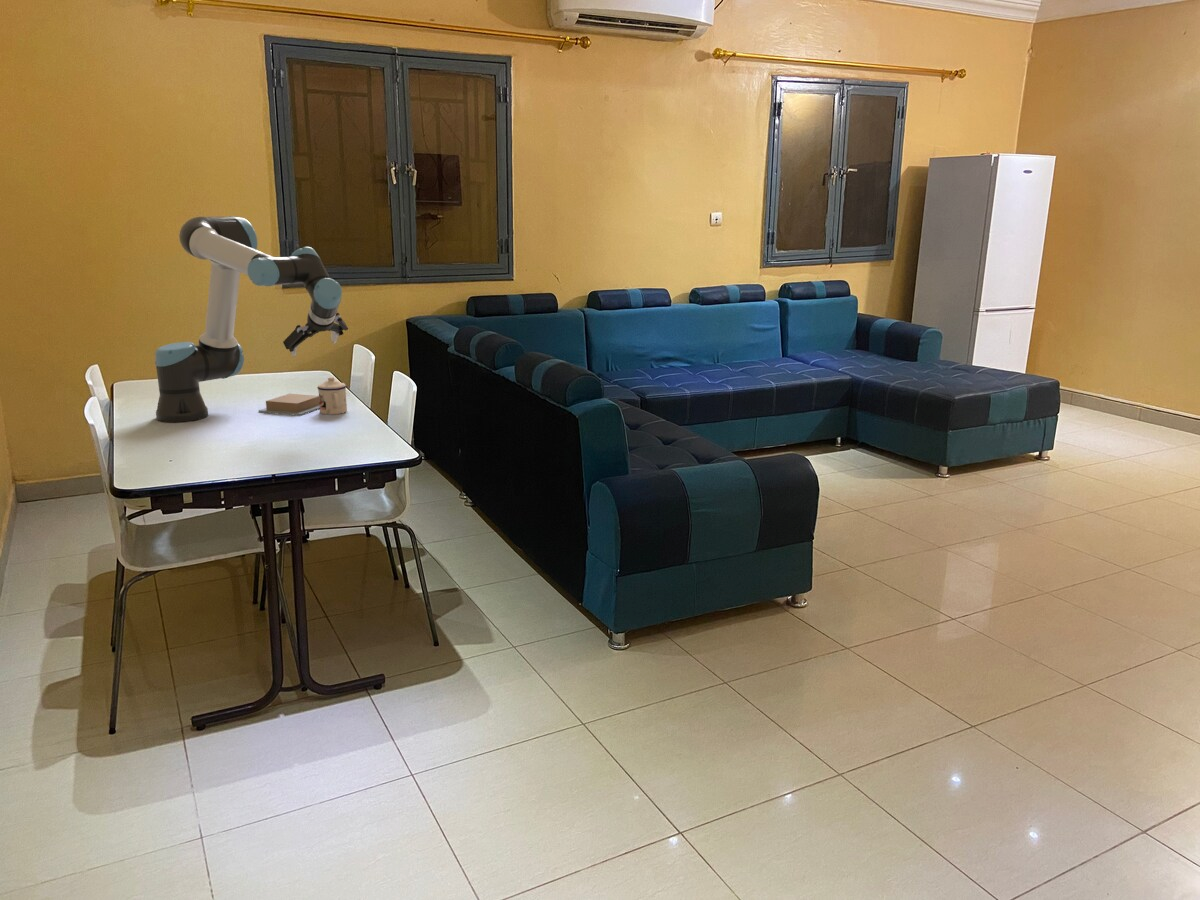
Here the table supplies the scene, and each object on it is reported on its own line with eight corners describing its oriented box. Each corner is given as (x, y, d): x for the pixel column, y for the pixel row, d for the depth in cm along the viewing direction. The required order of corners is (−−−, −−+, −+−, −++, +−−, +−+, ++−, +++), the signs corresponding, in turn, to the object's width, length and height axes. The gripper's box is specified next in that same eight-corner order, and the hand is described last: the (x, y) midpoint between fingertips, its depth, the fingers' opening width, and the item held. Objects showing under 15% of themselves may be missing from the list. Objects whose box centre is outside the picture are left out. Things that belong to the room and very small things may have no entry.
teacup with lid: (317, 410, 293) (314, 376, 290) (344, 408, 297) (342, 374, 294) (323, 417, 282) (320, 382, 279) (352, 415, 286) (349, 380, 283)
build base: (258, 412, 289) (257, 401, 288) (288, 402, 304) (287, 392, 303) (300, 415, 285) (299, 404, 284) (328, 405, 300) (327, 395, 299)
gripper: (287, 338, 251) (280, 369, 269) (366, 313, 264) (354, 344, 282) (275, 316, 252) (269, 348, 270) (354, 292, 265) (344, 324, 283)
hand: (312, 346), depth 276 cm, fingers open, 13 cm apart
